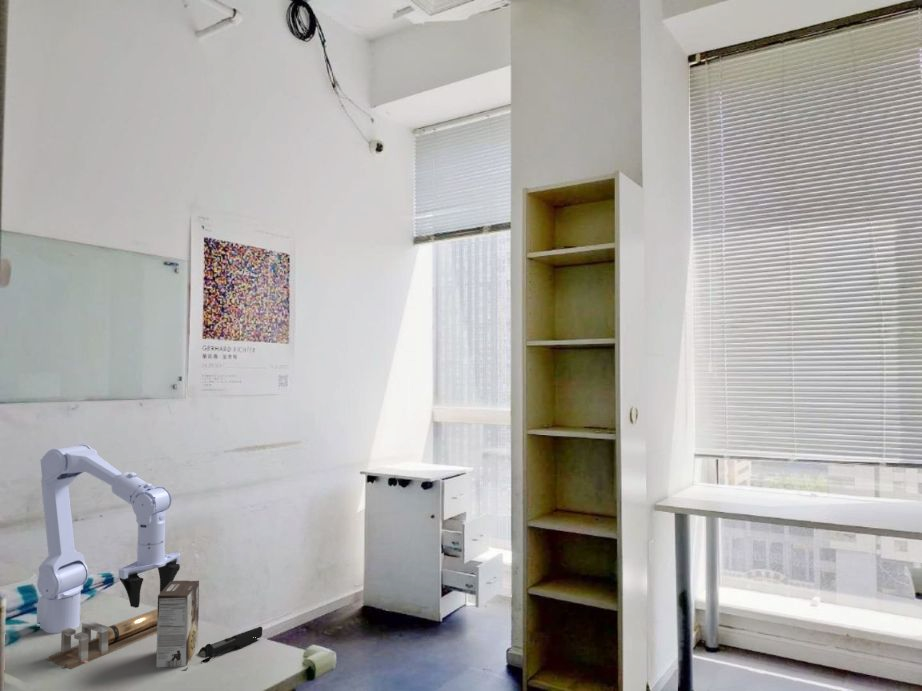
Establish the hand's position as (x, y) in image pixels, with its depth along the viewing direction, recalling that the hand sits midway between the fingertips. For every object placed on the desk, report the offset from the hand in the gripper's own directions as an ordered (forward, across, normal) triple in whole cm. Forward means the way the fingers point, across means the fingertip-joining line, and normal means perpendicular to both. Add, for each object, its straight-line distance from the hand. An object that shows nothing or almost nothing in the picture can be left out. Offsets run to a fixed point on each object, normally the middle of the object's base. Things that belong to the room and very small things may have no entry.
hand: (149, 601), depth 149 cm
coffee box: (+10, -3, -13) cm, 17 cm away
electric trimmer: (+10, +8, -18) cm, 22 cm away
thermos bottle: (+9, 0, +6) cm, 10 cm away
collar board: (+10, -4, +6) cm, 12 cm away
